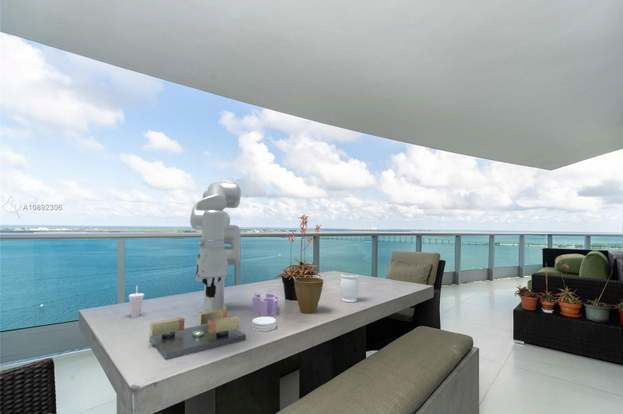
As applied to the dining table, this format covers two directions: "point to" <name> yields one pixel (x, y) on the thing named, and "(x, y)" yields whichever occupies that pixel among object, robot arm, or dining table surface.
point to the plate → (193, 341)
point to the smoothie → (136, 303)
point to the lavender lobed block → (265, 304)
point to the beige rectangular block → (211, 315)
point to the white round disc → (263, 324)
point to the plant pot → (308, 293)
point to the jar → (349, 287)
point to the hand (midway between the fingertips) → (210, 296)
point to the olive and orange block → (167, 327)
